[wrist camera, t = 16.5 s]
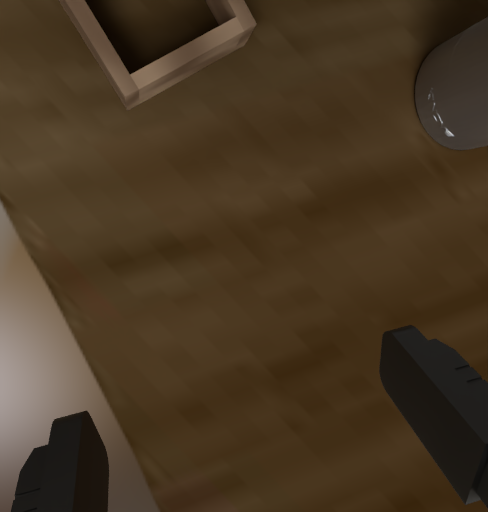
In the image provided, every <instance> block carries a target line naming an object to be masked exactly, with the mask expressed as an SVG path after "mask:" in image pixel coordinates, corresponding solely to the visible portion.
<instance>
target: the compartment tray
mask: <svg viewBox="0 0 488 512" xmlns="http://www.w3.org/2000/svg"><path fill="white" fill-rule="evenodd" d="M205 1H206V3H207V5H208V6H209V8H210V10H211V12H212V14H213V16H214V17H215V19H216V21H217V23H218V25H219V26H218V27H216V28H215V29H213V30H211V31H209V32H207V33H206V34H204V35H202V36H200V37H198V38H196V39H195V40H193V41H191V42H189V43H187V44H185V45H184V46H182V47H180V48H178V49H176V50H174V51H173V52H171V53H169V54H167V55H165V56H163V57H162V58H160V59H158V60H156V61H154V62H152V63H151V64H149V65H147V66H145V67H143V68H141V69H140V70H138V71H136V72H134V73H132V74H129V72H128V71H127V69H126V67H125V66H124V64H123V62H122V61H121V59H120V57H119V56H118V54H117V53H116V51H115V49H114V48H113V46H112V44H111V43H110V41H109V39H108V38H107V36H106V35H105V33H104V31H103V30H102V28H101V26H100V25H99V23H98V21H97V20H96V18H95V16H94V15H93V13H92V12H91V10H90V8H89V7H88V5H87V3H86V2H85V0H59V2H60V3H61V5H62V6H63V8H64V10H65V11H66V13H67V14H68V16H69V18H70V19H71V21H72V22H73V24H74V26H75V27H76V29H77V30H78V32H79V34H80V35H81V37H82V38H83V40H84V42H85V43H86V45H87V47H88V48H89V50H90V51H91V53H92V55H93V56H94V58H95V59H96V61H97V63H98V64H99V66H100V67H101V69H102V71H103V72H104V74H105V75H106V77H107V79H108V80H109V82H110V83H111V85H112V87H113V88H114V90H115V91H116V93H117V95H118V96H119V98H120V99H121V101H122V103H123V104H124V106H125V108H126V109H127V111H128V110H130V109H132V108H134V107H135V106H137V105H139V104H141V103H142V102H144V101H146V100H148V99H150V98H151V97H153V96H155V95H157V94H158V93H160V92H162V91H164V90H166V89H167V88H169V87H171V86H173V85H175V84H176V83H178V82H180V81H182V80H183V79H185V78H187V77H189V76H191V75H192V74H194V73H196V72H198V71H200V70H201V69H203V68H205V67H207V66H208V65H210V64H212V63H214V62H216V61H217V60H219V59H221V58H223V57H225V56H226V55H228V54H230V53H232V52H233V51H235V50H237V49H239V48H241V47H242V46H244V45H245V43H246V42H247V40H248V38H249V37H250V35H251V33H252V31H253V30H254V28H255V26H256V25H257V24H256V22H255V20H254V18H253V16H252V14H251V12H250V11H249V9H248V7H247V5H246V3H245V1H244V0H205Z"/></svg>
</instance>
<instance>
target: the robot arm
mask: <svg viewBox="0 0 488 512" xmlns="http://www.w3.org/2000/svg"><path fill="white" fill-rule="evenodd" d="M415 102H416V108H417V112H418V115H419V118H420V121H421V123H422V125H423V126H424V128H425V130H426V131H427V133H428V134H429V135H430V136H431V137H432V138H433V139H434V140H435V141H437V142H438V143H440V144H441V145H443V146H445V147H448V148H450V149H455V150H467V149H473V148H478V147H483V146H488V17H487V18H485V19H483V20H482V21H480V22H478V23H476V24H474V25H473V26H471V27H469V28H468V29H466V30H464V31H462V32H461V33H459V34H457V35H456V36H454V37H452V38H451V39H449V40H447V41H445V42H444V43H442V44H440V45H439V46H437V47H436V48H435V49H434V50H433V51H432V52H430V53H429V54H428V56H427V57H426V59H425V60H424V62H423V63H422V65H421V68H420V70H419V73H418V75H417V80H416V85H415ZM380 377H381V381H382V384H383V386H384V388H385V390H386V392H387V393H388V395H389V396H390V398H391V399H392V400H393V402H394V403H395V405H396V406H397V408H398V409H399V410H400V412H401V413H402V415H403V416H404V418H405V419H406V420H407V422H408V423H409V425H410V426H411V428H412V429H413V430H414V432H415V433H416V435H417V436H418V438H419V439H420V440H421V442H422V443H423V445H424V446H425V448H426V449H427V451H428V452H429V453H430V455H431V456H432V458H433V459H434V461H435V462H436V463H437V465H438V466H439V468H440V469H441V471H442V472H443V473H444V475H445V476H446V478H447V479H448V481H449V482H450V483H451V485H452V486H453V488H454V489H455V491H456V492H457V494H458V495H459V496H460V498H461V499H462V501H463V502H464V504H465V505H466V504H469V503H472V502H475V501H478V500H482V501H483V503H484V504H485V505H486V507H487V508H488V383H487V382H486V381H485V380H482V378H481V376H480V375H479V374H478V373H477V372H476V371H475V370H474V369H473V368H472V367H470V366H469V364H468V363H467V362H466V361H465V360H464V359H463V358H462V357H461V356H460V355H459V354H458V353H457V352H456V350H454V349H453V348H451V347H449V346H447V345H446V344H444V343H442V342H440V341H438V340H437V339H432V340H429V341H428V340H427V339H426V338H425V337H424V336H423V335H422V334H421V332H420V331H419V330H418V329H417V328H416V327H414V326H412V325H408V326H405V327H401V328H397V329H393V330H390V331H386V332H384V334H383V338H382V348H381V359H380ZM108 481H109V464H108V457H107V452H106V449H105V446H104V444H103V442H102V439H101V437H100V435H99V433H98V431H97V429H96V427H95V425H94V422H93V420H92V418H91V416H90V414H89V413H88V412H87V411H84V412H80V413H76V414H72V415H68V416H65V417H61V418H57V419H55V420H54V421H53V424H52V427H51V432H50V438H49V443H48V445H45V446H41V447H38V448H34V450H33V451H32V453H31V454H30V456H29V458H28V459H27V461H26V463H25V464H24V466H23V468H22V469H21V471H20V474H19V479H18V483H17V487H16V492H15V500H14V501H13V505H12V509H11V512H107V511H108V484H109V482H108Z"/></svg>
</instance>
